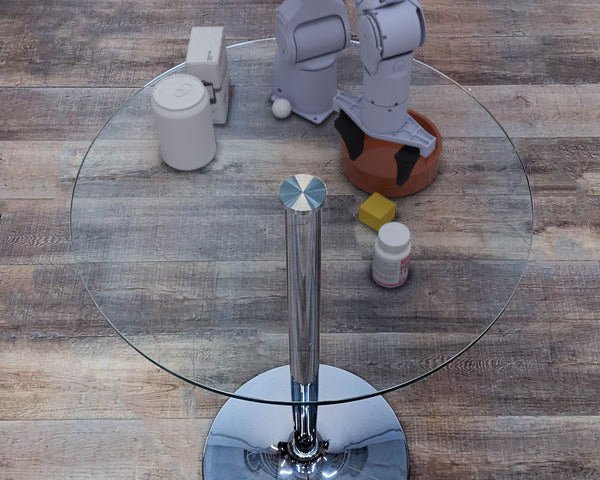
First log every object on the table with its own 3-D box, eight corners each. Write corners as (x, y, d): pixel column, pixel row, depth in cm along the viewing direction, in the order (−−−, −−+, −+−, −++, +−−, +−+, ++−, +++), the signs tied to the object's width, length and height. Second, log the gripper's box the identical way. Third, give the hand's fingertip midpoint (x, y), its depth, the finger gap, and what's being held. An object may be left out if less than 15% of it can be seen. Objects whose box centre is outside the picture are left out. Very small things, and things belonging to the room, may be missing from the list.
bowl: (321, 170, 127) (321, 148, 123) (377, 116, 133) (378, 93, 130) (403, 215, 122) (405, 193, 118) (457, 156, 128) (461, 133, 124)
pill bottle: (405, 291, 114) (410, 251, 107) (369, 285, 115) (372, 245, 108) (409, 263, 117) (415, 222, 110) (374, 257, 117) (378, 216, 111)
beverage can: (150, 155, 129) (136, 92, 120) (190, 126, 133) (180, 63, 123) (187, 181, 126) (176, 120, 116) (227, 151, 129) (220, 89, 120)
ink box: (200, 86, 138) (191, 24, 128) (231, 86, 138) (224, 24, 128) (193, 124, 133) (183, 62, 123) (226, 124, 133) (218, 63, 123)
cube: (358, 219, 121) (359, 206, 119) (374, 204, 123) (375, 191, 121) (378, 232, 120) (380, 219, 118) (394, 217, 121) (396, 204, 119)
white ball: (293, 111, 134) (293, 96, 132) (287, 124, 133) (287, 109, 130) (276, 107, 135) (275, 92, 132) (270, 120, 133) (269, 105, 131)
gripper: (454, 97, 105) (441, 174, 117) (356, 50, 111) (352, 128, 122) (422, 130, 102) (411, 206, 113) (323, 80, 108) (322, 158, 119)
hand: (379, 168), depth 117 cm, fingers open, 7 cm apart
